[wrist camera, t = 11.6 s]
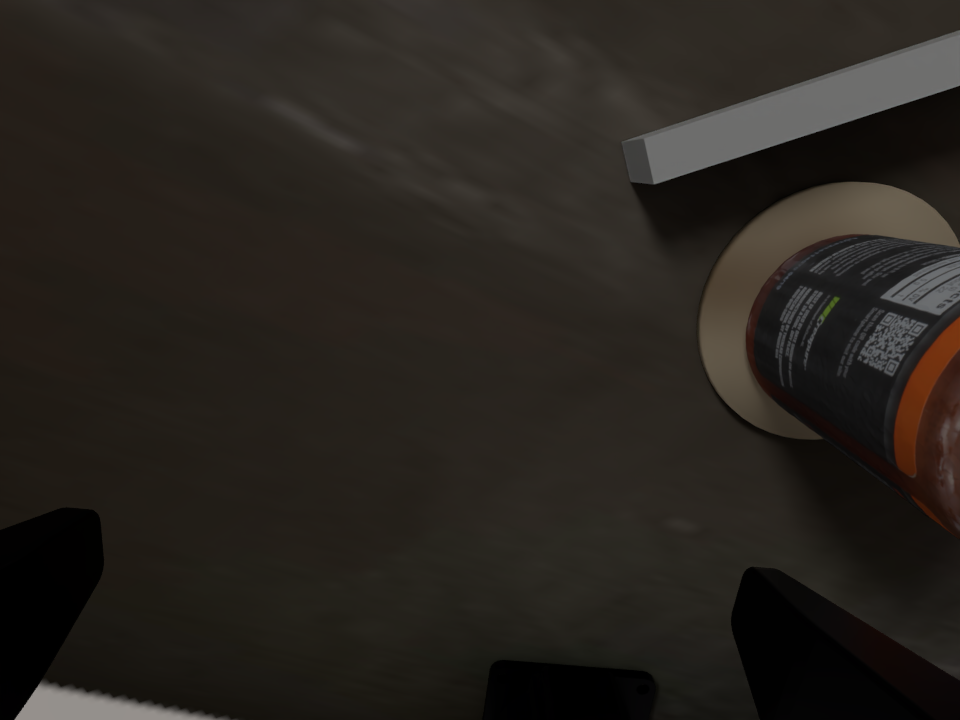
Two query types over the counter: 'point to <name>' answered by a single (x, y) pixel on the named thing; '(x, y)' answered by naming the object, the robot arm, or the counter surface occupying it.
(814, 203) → the oak coaster
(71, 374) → the counter surface
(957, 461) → the supplement bottle
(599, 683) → the robot arm
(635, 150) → the grey rectangular bar
